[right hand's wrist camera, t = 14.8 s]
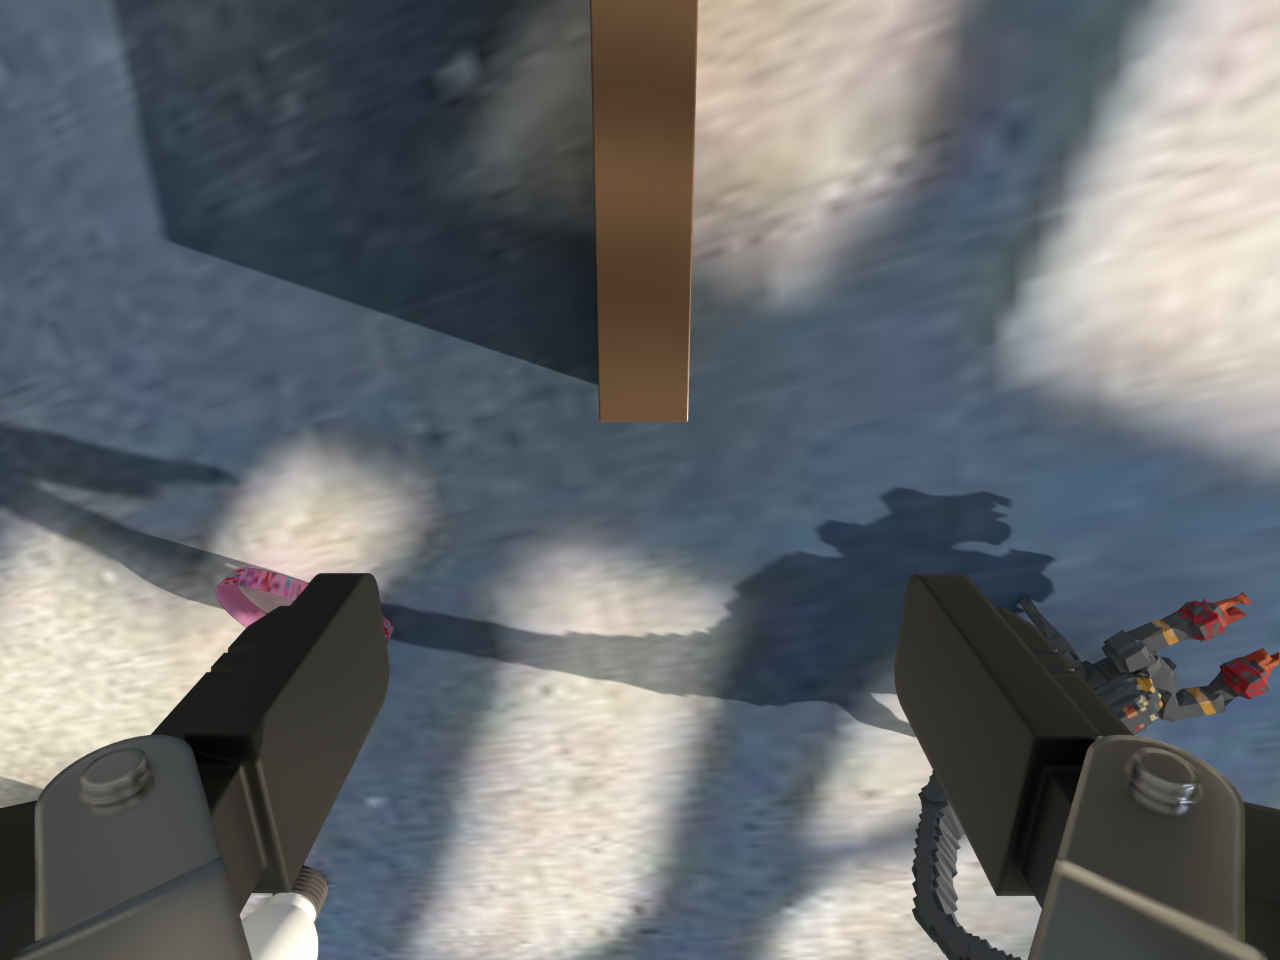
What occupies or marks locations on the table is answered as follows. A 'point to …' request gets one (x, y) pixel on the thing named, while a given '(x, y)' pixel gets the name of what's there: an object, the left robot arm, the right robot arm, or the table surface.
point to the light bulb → (288, 921)
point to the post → (643, 204)
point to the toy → (1137, 698)
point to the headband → (266, 582)
